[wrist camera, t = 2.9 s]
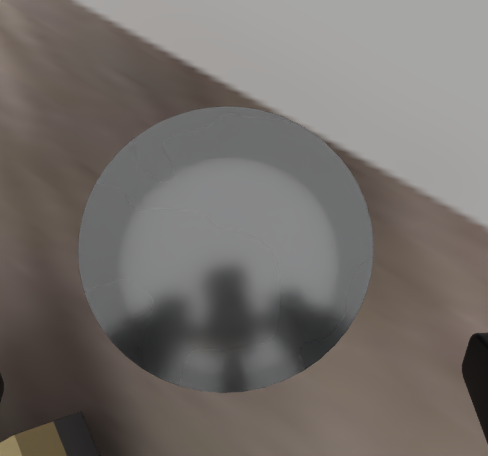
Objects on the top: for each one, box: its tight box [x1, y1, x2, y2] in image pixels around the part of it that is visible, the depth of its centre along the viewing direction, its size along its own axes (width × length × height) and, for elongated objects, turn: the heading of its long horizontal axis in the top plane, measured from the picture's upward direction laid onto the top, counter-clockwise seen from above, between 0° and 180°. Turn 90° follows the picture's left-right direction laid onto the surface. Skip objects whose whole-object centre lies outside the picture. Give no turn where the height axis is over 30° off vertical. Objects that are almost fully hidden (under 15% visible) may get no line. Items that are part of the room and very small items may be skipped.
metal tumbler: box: [78, 106, 373, 393], centre depth 12 cm, size 4×4×12 cm
